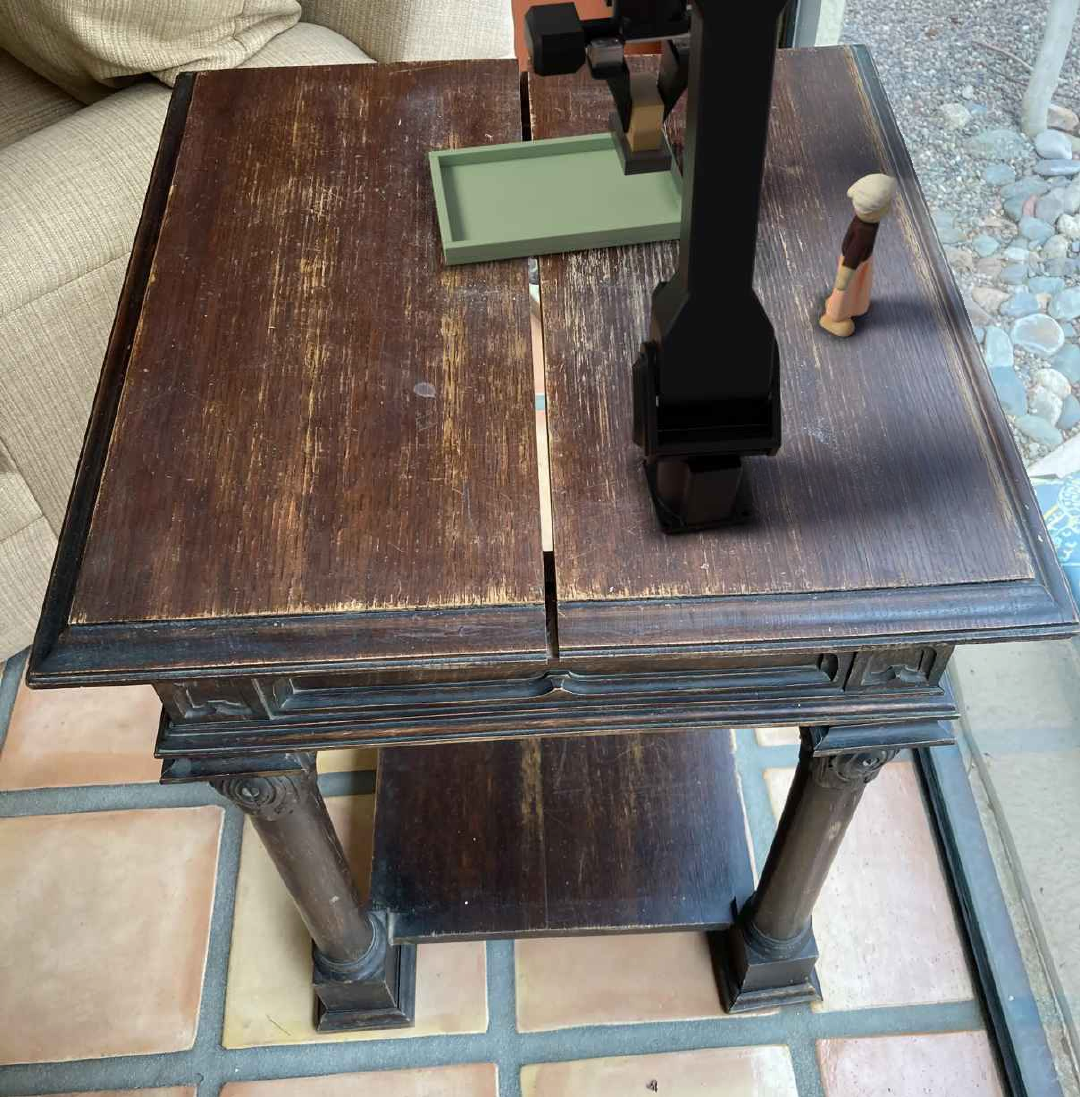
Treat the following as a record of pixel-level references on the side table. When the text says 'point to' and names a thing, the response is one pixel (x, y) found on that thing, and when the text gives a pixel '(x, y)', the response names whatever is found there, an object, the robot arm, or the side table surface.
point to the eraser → (642, 130)
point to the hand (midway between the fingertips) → (640, 128)
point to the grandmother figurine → (858, 253)
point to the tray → (548, 199)
